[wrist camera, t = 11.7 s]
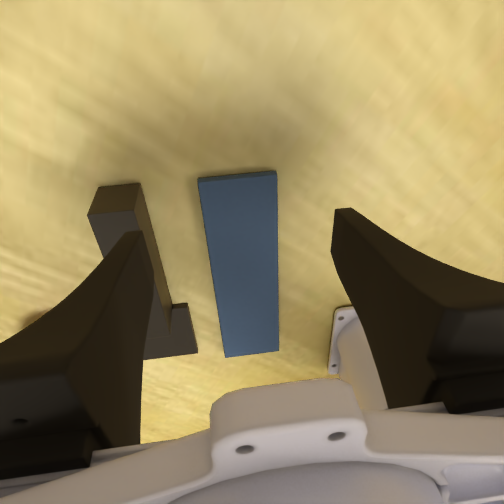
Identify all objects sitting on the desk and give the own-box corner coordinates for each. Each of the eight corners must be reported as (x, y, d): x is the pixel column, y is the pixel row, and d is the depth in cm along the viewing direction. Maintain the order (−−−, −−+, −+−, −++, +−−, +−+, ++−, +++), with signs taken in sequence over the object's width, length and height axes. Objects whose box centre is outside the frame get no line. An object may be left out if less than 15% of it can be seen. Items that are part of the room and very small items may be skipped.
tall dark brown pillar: (197, 348, 34) (198, 379, 32) (142, 355, 34) (138, 387, 31) (159, 180, 24) (155, 207, 21) (78, 189, 23) (64, 217, 21)
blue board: (277, 346, 35) (279, 351, 35) (224, 352, 35) (225, 358, 35) (275, 170, 24) (277, 174, 24) (197, 178, 24) (197, 182, 23)
